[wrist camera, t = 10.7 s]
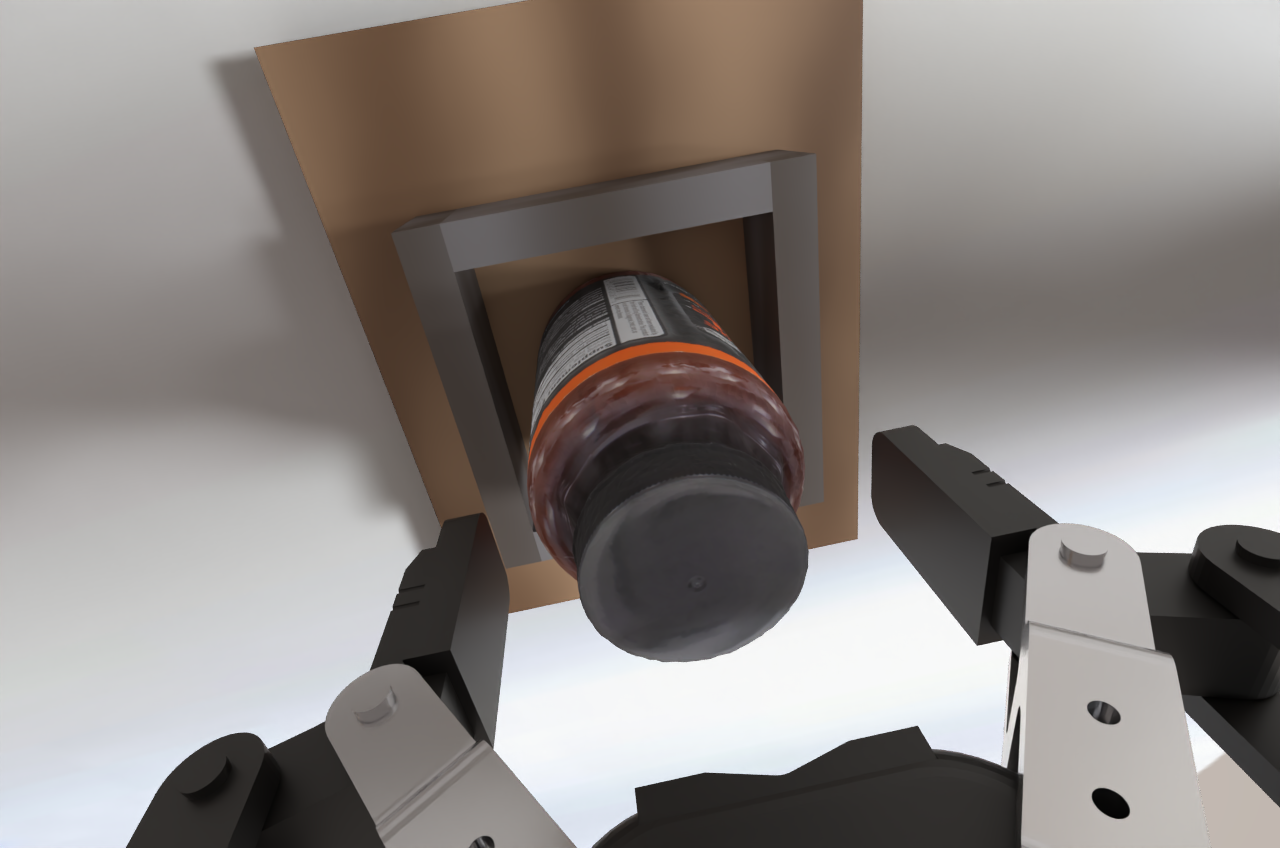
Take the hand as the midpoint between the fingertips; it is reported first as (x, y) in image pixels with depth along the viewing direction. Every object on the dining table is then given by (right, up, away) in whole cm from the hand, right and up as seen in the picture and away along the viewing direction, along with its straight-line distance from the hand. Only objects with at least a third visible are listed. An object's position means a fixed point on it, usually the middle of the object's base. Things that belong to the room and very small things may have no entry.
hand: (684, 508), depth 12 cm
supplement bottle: (-1, +4, +8) cm, 9 cm away
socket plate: (-1, +5, +9) cm, 10 cm away
